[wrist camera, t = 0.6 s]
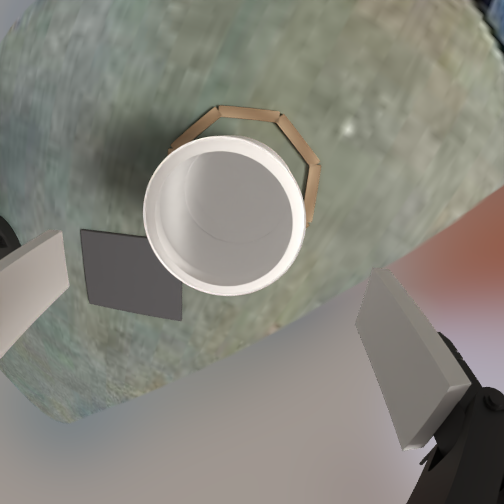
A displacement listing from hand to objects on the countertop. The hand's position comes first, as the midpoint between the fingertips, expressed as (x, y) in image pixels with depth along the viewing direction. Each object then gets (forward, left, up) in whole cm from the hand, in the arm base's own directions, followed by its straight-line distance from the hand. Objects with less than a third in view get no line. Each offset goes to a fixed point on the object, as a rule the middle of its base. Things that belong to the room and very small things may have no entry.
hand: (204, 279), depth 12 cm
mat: (-13, -13, -22) cm, 29 cm away
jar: (0, 0, -23) cm, 23 cm away
